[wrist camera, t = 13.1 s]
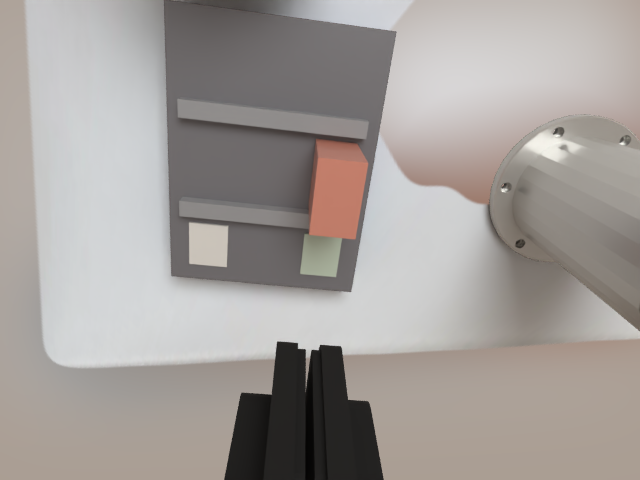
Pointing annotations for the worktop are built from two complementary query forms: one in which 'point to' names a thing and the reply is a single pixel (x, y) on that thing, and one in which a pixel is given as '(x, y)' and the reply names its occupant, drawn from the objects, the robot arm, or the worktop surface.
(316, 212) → the handle
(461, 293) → the worktop surface
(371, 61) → the breaker panel
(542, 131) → the robot arm
